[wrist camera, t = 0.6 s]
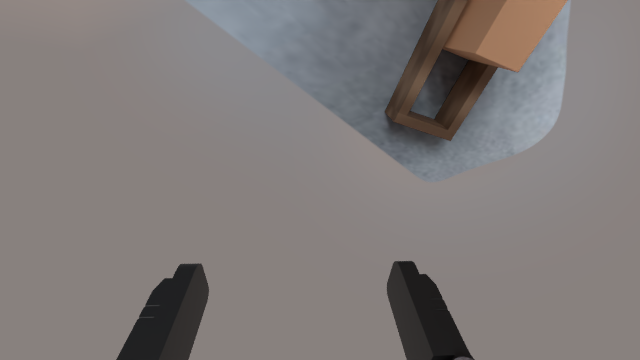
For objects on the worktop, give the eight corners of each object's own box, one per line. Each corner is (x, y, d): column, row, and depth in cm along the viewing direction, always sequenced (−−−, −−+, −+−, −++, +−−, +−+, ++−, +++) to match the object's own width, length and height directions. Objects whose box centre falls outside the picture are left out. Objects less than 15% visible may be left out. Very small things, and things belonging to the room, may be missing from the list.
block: (462, -15, 28) (522, -27, 21) (498, 3, 29) (568, -1, 22) (432, 44, 31) (475, 53, 23) (466, 59, 32) (517, 72, 25)
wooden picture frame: (448, -21, 28) (468, -27, 25) (508, 9, 30) (535, 8, 26) (384, 111, 35) (393, 121, 32) (436, 129, 37) (450, 140, 34)
